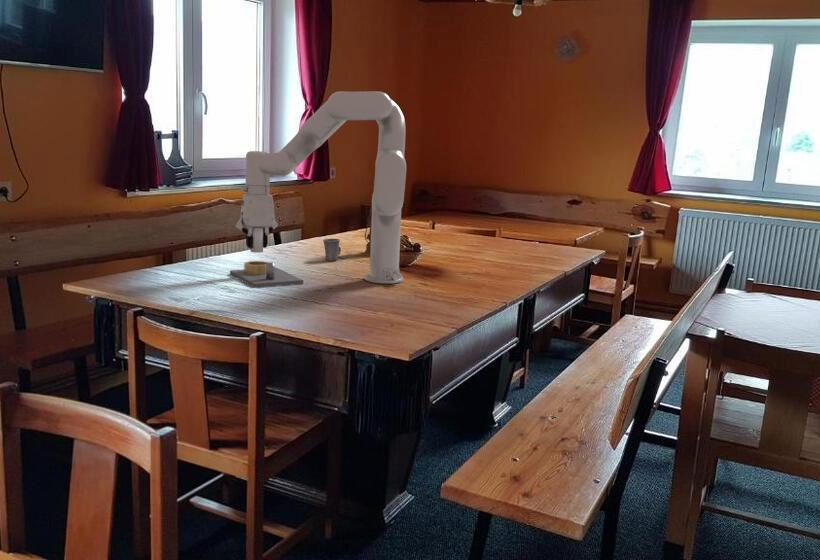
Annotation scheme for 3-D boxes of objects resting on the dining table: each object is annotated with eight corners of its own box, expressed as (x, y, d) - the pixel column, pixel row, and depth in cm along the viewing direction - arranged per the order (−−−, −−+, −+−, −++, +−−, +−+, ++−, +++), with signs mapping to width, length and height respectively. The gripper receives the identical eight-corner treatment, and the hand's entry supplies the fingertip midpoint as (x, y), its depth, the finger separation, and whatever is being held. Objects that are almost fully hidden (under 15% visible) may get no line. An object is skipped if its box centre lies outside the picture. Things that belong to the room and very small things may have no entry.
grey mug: (344, 257, 284) (344, 236, 282) (336, 263, 271) (337, 241, 270) (328, 256, 284) (329, 235, 283) (320, 261, 272) (320, 240, 270)
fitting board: (303, 283, 234) (303, 280, 233) (254, 287, 225) (254, 283, 225) (276, 270, 252) (276, 267, 251) (230, 274, 243) (230, 270, 243)
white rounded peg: (264, 252, 240) (265, 227, 238) (253, 252, 238) (253, 227, 236) (260, 250, 243) (260, 225, 241) (248, 250, 241) (248, 226, 239)
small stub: (275, 279, 232) (275, 263, 231) (267, 280, 231) (268, 264, 230) (272, 277, 234) (272, 262, 233) (264, 278, 233) (264, 262, 232)
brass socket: (273, 273, 240) (273, 264, 240) (249, 275, 236) (249, 266, 236) (264, 269, 247) (264, 260, 246) (241, 270, 243) (241, 261, 242)
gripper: (236, 191, 229) (235, 250, 232) (286, 191, 238) (285, 248, 241) (228, 189, 235) (227, 246, 239) (277, 189, 244) (276, 244, 248)
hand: (256, 247), depth 240 cm, fingers closed on white rounded peg, 4 cm apart
